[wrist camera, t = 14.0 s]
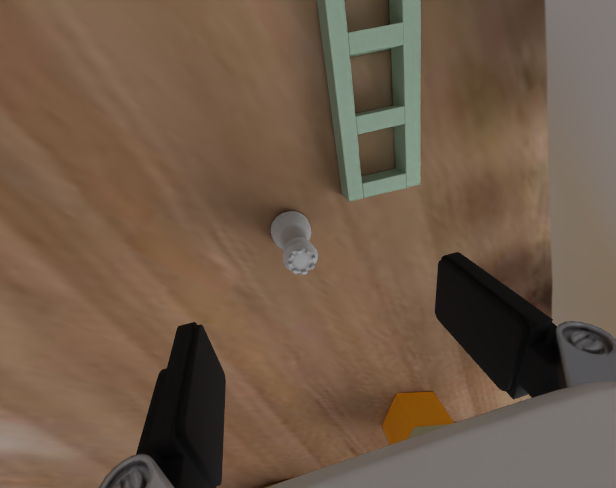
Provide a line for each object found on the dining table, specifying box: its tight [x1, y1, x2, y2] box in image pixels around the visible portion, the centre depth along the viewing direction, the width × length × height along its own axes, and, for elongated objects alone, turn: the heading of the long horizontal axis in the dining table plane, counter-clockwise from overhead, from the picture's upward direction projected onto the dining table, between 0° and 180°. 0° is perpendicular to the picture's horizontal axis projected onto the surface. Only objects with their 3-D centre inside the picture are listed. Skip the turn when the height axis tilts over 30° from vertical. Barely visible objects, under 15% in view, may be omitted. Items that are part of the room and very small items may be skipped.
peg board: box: [317, 0, 421, 202], centre depth 27 cm, size 8×21×2 cm, turn 10°
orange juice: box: [382, 391, 454, 445], centre depth 44 cm, size 8×9×20 cm
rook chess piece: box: [271, 211, 318, 275], centre depth 30 cm, size 4×4×8 cm
